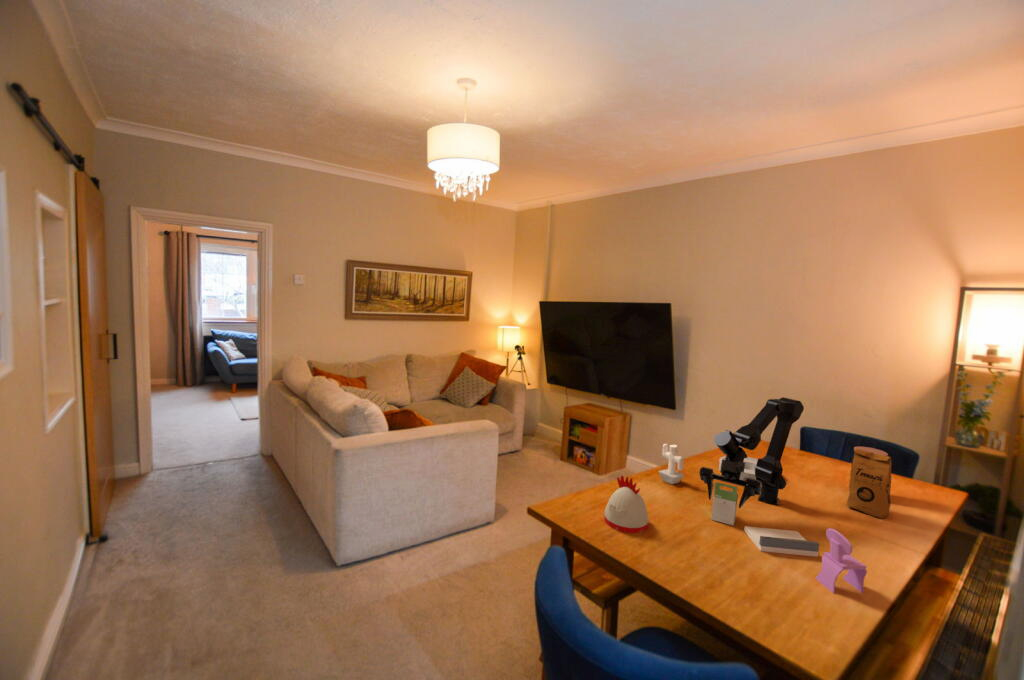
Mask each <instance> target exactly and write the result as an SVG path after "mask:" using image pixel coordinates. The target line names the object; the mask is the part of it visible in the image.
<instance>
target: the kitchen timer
mask: <svg viewBox="0 0 1024 680" xmlns="http://www.w3.org/2000/svg"><path fill="white" fill-rule="evenodd" d="M616 480H617V485H618V487H619V488H618V489H616V490H615V491H613V493H612V494H611V496H610V497H609V500H608V502H607V504H606V507H605V510H604V516H603V520H604V522H605V524H607V526H609V527H610V528H611V529H614V530H616V531H619V532H624V533H631V534H635V533H636V534H637V533H642V532H644V531H646V530H647V529H648V527H649V516H648V515H649V514H648V510H647V506H646V503H645V500H644V499H643V496H642V495H641V494H640V493H639V492H640V491H641V487H640V488H638V489H636V487H637V484H638V483H637V482H635V483H633V478H632V477H631V478H630V479H629V476H626V477H625V478H624V475H620V477H616Z"/></svg>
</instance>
